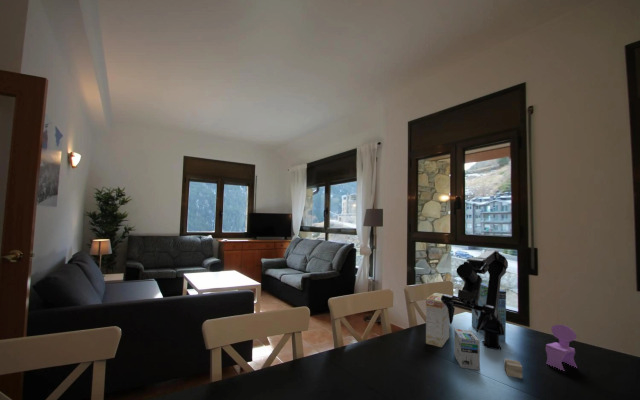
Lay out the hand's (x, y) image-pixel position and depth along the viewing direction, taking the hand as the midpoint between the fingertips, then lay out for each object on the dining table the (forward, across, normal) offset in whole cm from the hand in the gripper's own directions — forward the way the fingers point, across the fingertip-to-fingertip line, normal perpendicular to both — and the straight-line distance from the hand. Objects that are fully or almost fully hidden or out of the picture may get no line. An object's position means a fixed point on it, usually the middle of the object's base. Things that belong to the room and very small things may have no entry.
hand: (463, 327), depth 109 cm
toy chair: (-4, +28, +32) cm, 43 cm away
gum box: (-10, 0, +47) cm, 48 cm away
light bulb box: (+10, 0, +12) cm, 16 cm away
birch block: (+7, +15, +15) cm, 22 cm away
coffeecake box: (+4, -15, +25) cm, 29 cm away
